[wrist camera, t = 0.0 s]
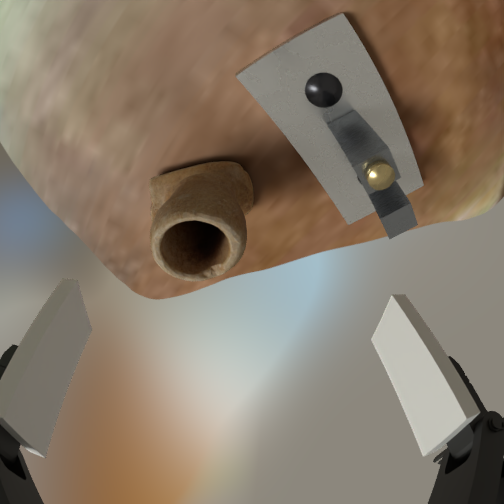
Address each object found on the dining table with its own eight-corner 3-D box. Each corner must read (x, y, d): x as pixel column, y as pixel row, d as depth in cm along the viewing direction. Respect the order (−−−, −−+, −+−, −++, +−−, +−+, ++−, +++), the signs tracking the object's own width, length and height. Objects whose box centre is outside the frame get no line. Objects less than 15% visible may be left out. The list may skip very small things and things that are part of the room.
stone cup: (244, 138, 34) (246, 215, 24) (257, 209, 43) (263, 294, 33) (134, 161, 36) (95, 240, 26) (162, 223, 44) (143, 305, 34)
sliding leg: (355, 109, 29) (393, 153, 22) (368, 134, 32) (405, 183, 25) (327, 125, 31) (356, 172, 24) (342, 149, 34) (371, 201, 26)
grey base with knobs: (338, 12, 22) (383, 18, 14) (419, 179, 39) (454, 231, 31) (235, 73, 28) (233, 103, 20) (346, 218, 45) (366, 275, 37)
